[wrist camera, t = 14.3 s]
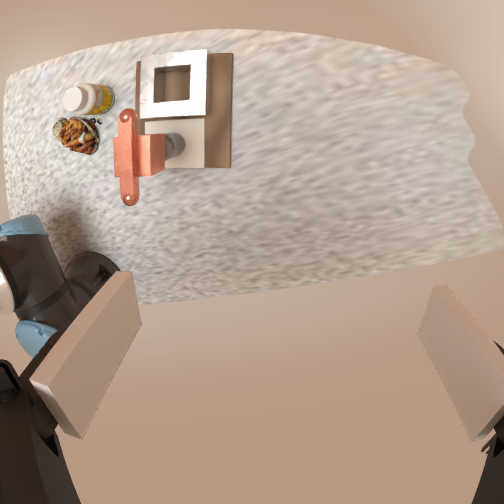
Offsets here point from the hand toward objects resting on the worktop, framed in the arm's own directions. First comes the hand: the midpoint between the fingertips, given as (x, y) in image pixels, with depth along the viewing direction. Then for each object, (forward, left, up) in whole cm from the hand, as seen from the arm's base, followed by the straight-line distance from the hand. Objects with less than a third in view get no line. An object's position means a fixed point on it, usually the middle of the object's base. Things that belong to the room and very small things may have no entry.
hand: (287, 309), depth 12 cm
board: (-15, +10, -39) cm, 43 cm away
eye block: (-15, +14, -38) cm, 43 cm away
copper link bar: (-16, +4, -37) cm, 41 cm away
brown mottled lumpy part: (-37, +7, -39) cm, 54 cm away
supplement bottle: (-30, +13, -39) cm, 51 cm away
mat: (-16, +4, -38) cm, 41 cm away
